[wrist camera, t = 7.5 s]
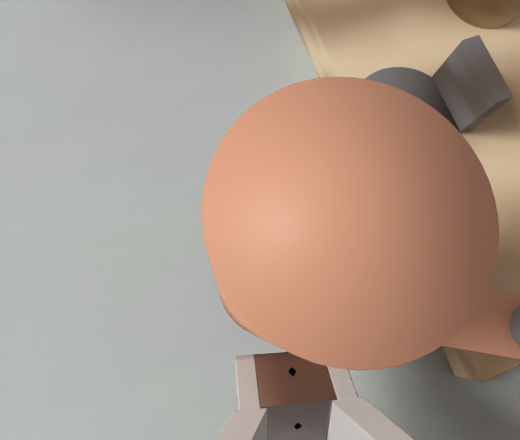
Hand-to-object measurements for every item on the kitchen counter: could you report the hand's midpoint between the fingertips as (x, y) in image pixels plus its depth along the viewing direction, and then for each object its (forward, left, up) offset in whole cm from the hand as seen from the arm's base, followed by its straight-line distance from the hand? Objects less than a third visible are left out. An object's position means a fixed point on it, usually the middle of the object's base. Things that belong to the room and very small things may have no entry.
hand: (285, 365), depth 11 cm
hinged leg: (0, +5, -4) cm, 7 cm away
